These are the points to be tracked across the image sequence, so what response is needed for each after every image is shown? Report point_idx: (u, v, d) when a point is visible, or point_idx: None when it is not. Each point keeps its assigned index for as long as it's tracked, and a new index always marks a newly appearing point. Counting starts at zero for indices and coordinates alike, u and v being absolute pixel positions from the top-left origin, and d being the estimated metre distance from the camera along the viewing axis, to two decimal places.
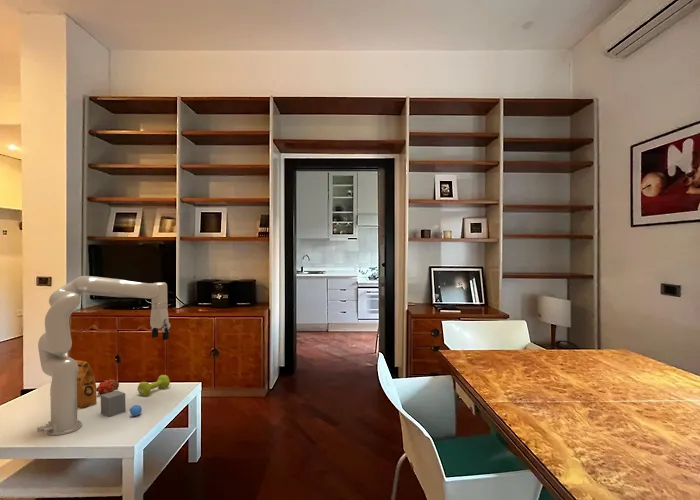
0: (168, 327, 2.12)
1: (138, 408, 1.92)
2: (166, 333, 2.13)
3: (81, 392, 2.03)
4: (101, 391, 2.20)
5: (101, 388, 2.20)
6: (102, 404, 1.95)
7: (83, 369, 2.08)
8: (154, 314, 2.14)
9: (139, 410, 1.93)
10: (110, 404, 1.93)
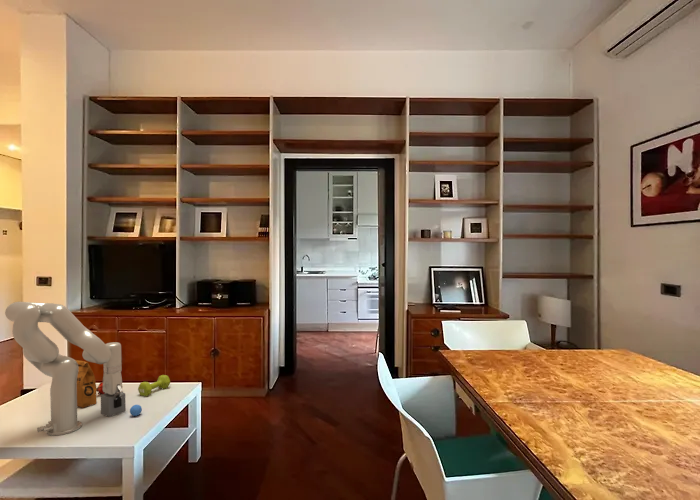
0: (120, 395, 1.93)
1: (138, 408, 1.92)
2: (118, 400, 1.95)
3: (81, 392, 2.03)
4: (101, 391, 2.20)
5: (101, 388, 2.20)
6: (102, 404, 1.95)
7: (83, 369, 2.08)
8: (106, 378, 1.95)
9: (139, 410, 1.93)
10: (110, 404, 1.93)
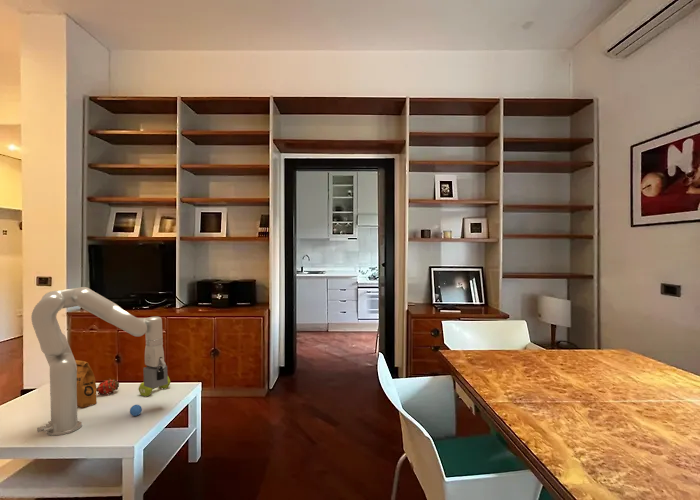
0: (163, 367, 1.97)
1: (138, 408, 1.92)
2: (161, 373, 1.99)
3: (81, 392, 2.03)
4: (101, 391, 2.20)
5: (101, 388, 2.20)
6: (146, 376, 1.99)
7: (83, 369, 2.08)
8: (148, 351, 1.99)
9: (139, 410, 1.93)
10: (154, 376, 1.97)
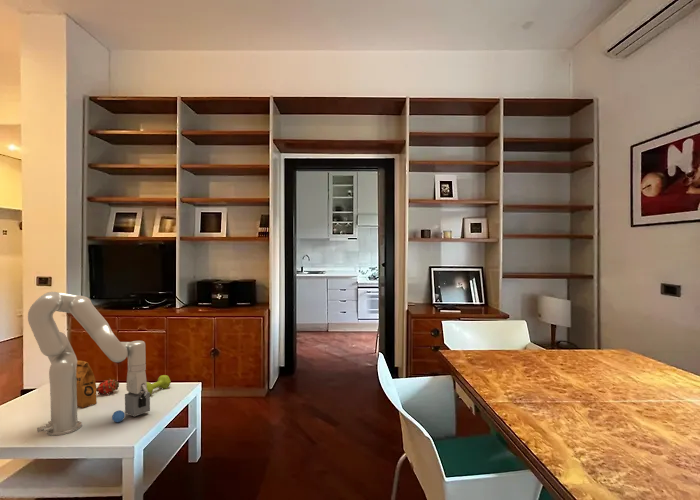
0: (145, 394, 1.90)
1: (120, 420, 1.86)
2: (143, 400, 1.91)
3: (81, 392, 2.03)
4: (101, 391, 2.20)
5: (101, 388, 2.20)
6: (127, 403, 1.92)
7: (83, 369, 2.08)
8: (130, 377, 1.92)
9: (120, 418, 1.85)
10: (135, 403, 1.90)
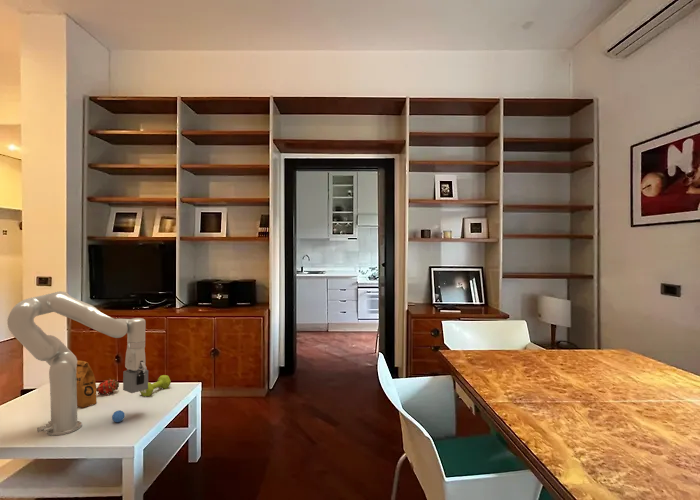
0: (143, 371, 1.89)
1: (120, 420, 1.86)
2: (141, 377, 1.91)
3: (81, 392, 2.03)
4: (101, 391, 2.20)
5: (101, 388, 2.20)
6: (125, 380, 1.92)
7: (83, 369, 2.08)
8: (129, 354, 1.92)
9: (120, 418, 1.85)
10: (133, 380, 1.89)
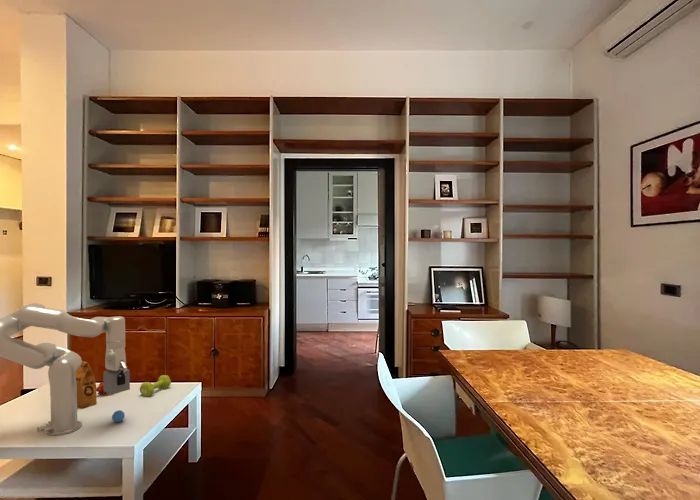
0: (124, 371, 1.82)
1: (120, 420, 1.86)
2: (122, 377, 1.83)
3: (81, 392, 2.03)
4: (101, 391, 2.20)
5: (101, 388, 2.20)
6: (105, 381, 1.84)
7: (83, 369, 2.08)
8: (109, 354, 1.84)
9: (120, 418, 1.85)
10: (114, 381, 1.82)
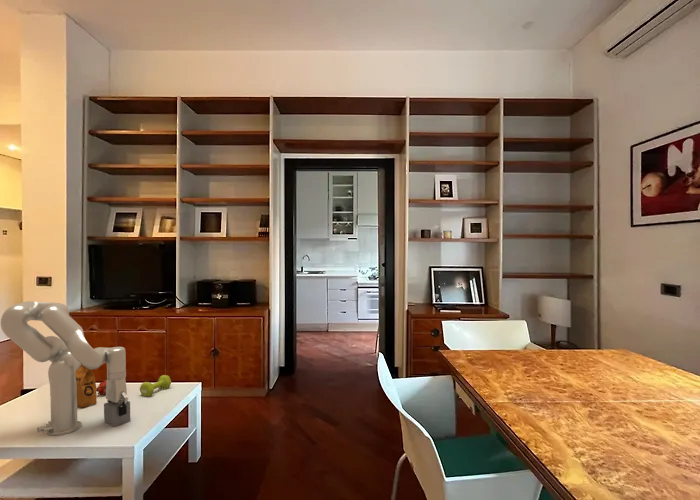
0: (125, 401, 1.82)
1: None
2: (123, 408, 1.83)
3: (81, 392, 2.03)
4: (101, 391, 2.20)
5: (101, 388, 2.20)
6: (106, 413, 1.84)
7: (83, 369, 2.08)
8: (109, 385, 1.84)
9: None
10: (114, 413, 1.82)
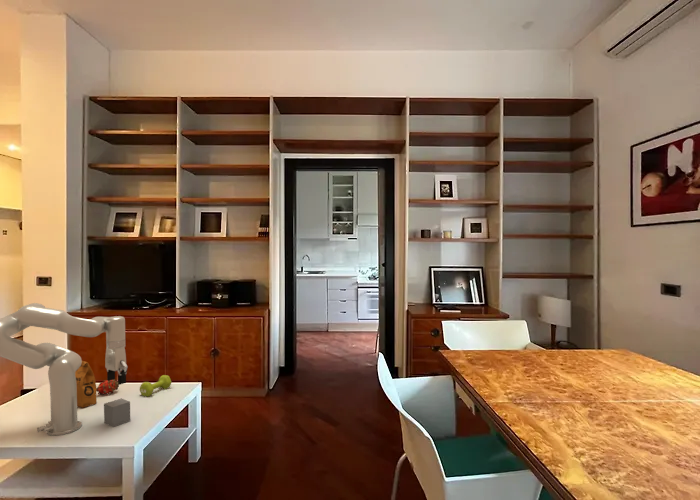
0: (125, 370, 1.82)
1: None
2: (123, 376, 1.83)
3: (81, 392, 2.03)
4: (101, 391, 2.20)
5: (101, 388, 2.20)
6: (106, 413, 1.84)
7: (83, 369, 2.08)
8: (109, 354, 1.84)
9: None
10: (114, 413, 1.82)
